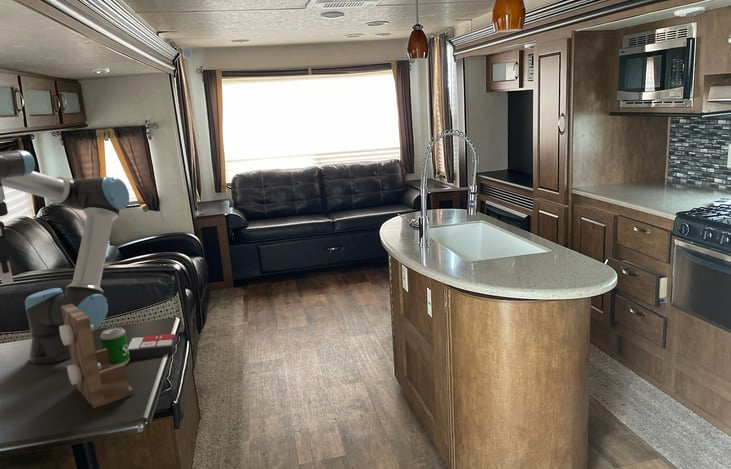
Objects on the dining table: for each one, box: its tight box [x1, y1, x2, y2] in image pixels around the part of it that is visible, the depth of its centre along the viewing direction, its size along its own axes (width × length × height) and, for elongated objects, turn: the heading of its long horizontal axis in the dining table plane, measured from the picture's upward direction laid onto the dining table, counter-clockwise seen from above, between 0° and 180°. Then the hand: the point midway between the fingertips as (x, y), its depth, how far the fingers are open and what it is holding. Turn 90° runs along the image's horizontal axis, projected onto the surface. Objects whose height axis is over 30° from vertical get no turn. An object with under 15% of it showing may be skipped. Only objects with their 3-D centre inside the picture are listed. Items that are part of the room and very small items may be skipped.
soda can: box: [99, 326, 131, 367], centre depth 186 cm, size 8×8×12 cm
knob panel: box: [61, 304, 134, 409], centre depth 166 cm, size 18×11×26 cm, turn 40°
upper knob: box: [59, 324, 95, 345], centre depth 162 cm, size 6×8×6 cm
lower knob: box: [66, 363, 101, 386], centre depth 165 cm, size 6×8×6 cm
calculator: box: [128, 333, 177, 361], centre depth 197 cm, size 11×4×15 cm
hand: (7, 282), depth 165 cm, fingers closed
